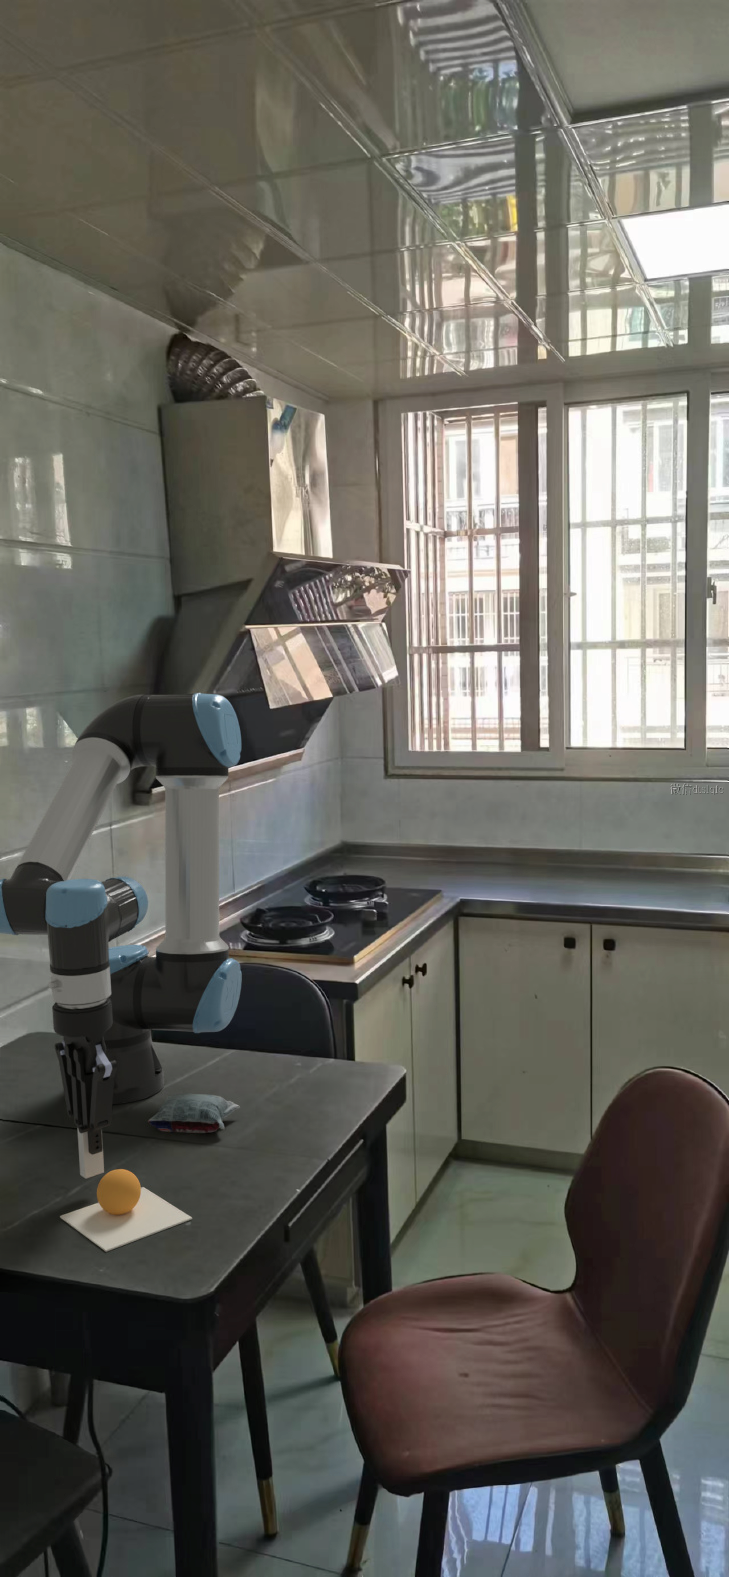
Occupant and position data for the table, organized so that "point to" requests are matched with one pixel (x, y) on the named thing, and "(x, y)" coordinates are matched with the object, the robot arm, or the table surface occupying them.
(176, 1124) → the packaged food
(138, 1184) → the ball
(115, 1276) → the table surface
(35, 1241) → the table surface
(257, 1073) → the table surface
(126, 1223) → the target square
